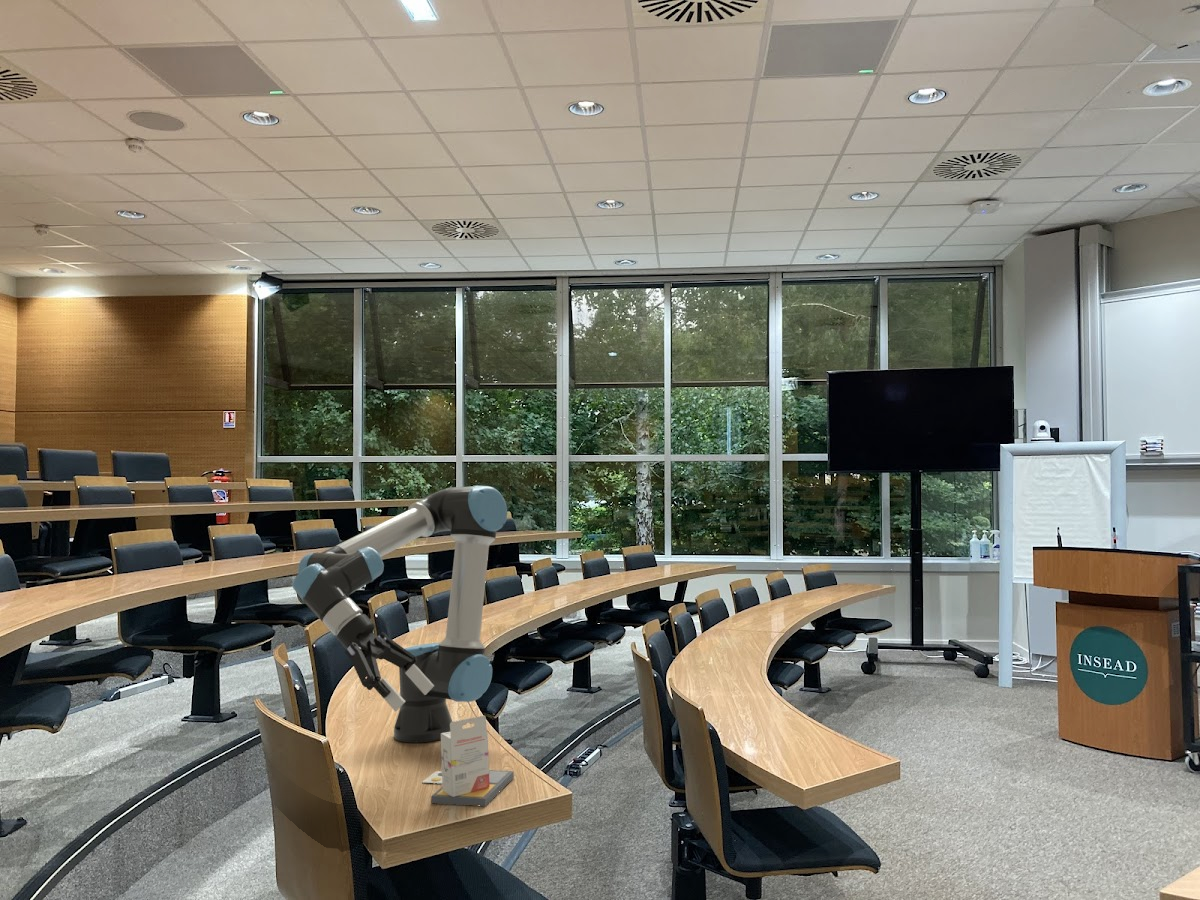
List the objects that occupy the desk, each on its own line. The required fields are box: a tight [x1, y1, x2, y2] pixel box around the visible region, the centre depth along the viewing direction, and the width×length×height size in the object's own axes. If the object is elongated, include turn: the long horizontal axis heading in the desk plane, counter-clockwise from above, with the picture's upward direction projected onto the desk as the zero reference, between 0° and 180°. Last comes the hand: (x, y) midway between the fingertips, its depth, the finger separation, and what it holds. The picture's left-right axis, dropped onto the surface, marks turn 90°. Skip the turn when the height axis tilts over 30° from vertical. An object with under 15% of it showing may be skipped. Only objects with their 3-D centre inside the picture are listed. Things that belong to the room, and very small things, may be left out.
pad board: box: [430, 769, 515, 807], centre depth 174 cm, size 17×12×2 cm
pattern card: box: [421, 770, 442, 785], centre depth 182 cm, size 7×5×1 cm
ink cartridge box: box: [440, 715, 490, 797], centre depth 170 cm, size 9×5×15 cm, turn 125°
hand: (415, 698), depth 174 cm, fingers open, 13 cm apart
